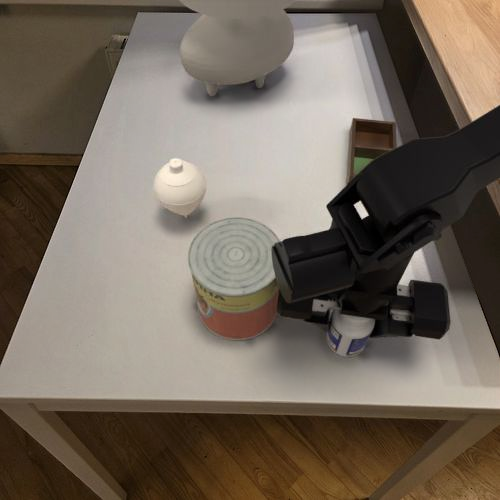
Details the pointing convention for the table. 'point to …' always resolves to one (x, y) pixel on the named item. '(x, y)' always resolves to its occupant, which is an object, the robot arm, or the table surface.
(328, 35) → the table surface
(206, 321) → the canned food
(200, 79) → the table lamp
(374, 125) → the holder
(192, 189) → the spinning top
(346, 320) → the pill bottle
